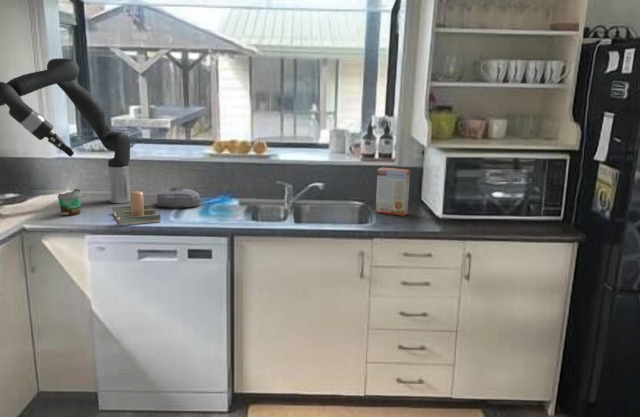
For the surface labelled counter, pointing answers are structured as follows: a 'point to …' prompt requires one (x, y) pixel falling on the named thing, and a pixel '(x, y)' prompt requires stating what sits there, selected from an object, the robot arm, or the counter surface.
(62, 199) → the food container
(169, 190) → the soft grey pack
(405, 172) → the cracker box
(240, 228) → the counter surface
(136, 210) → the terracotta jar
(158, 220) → the comb board
